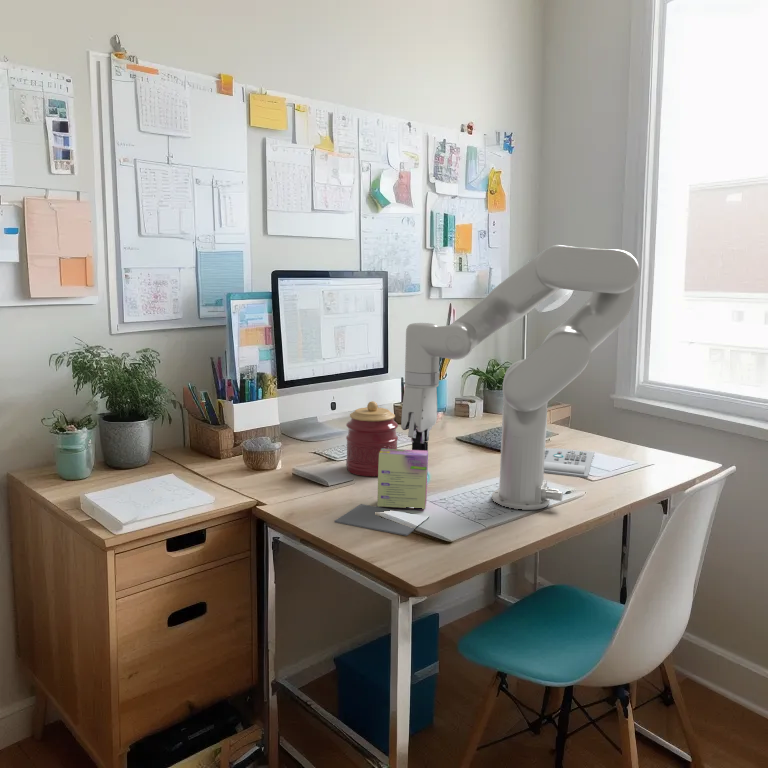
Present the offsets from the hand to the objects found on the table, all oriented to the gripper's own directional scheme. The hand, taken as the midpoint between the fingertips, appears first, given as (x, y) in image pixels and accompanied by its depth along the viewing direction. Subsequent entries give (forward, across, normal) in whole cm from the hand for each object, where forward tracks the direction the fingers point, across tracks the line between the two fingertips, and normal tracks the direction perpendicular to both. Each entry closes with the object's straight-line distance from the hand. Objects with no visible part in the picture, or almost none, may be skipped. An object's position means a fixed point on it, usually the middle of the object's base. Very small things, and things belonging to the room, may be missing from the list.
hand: (419, 458), depth 164 cm
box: (+8, +9, 0) cm, 12 cm away
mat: (+8, +19, 0) cm, 21 cm away
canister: (+8, -12, -18) cm, 23 cm away
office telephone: (+9, -42, +21) cm, 48 cm away
